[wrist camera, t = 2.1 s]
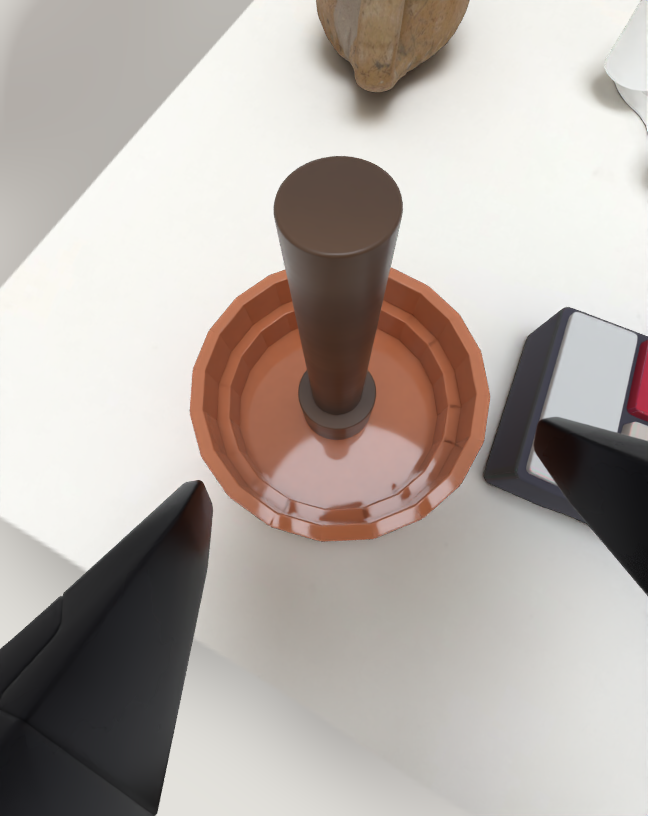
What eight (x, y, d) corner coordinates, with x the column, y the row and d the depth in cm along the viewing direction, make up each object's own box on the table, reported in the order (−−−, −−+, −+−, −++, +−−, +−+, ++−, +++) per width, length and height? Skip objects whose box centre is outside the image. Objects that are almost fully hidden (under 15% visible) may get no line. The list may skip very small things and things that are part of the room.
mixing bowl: (432, 565, 19) (464, 584, 14) (187, 493, 21) (142, 489, 16) (470, 334, 23) (505, 289, 18) (263, 289, 25) (246, 237, 20)
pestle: (362, 447, 21) (421, 310, 6) (294, 430, 21) (205, 265, 7) (377, 383, 22) (457, 144, 7) (313, 368, 22) (271, 116, 8)
